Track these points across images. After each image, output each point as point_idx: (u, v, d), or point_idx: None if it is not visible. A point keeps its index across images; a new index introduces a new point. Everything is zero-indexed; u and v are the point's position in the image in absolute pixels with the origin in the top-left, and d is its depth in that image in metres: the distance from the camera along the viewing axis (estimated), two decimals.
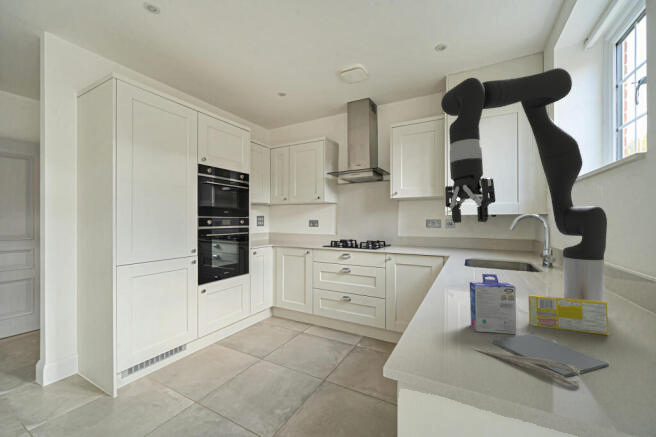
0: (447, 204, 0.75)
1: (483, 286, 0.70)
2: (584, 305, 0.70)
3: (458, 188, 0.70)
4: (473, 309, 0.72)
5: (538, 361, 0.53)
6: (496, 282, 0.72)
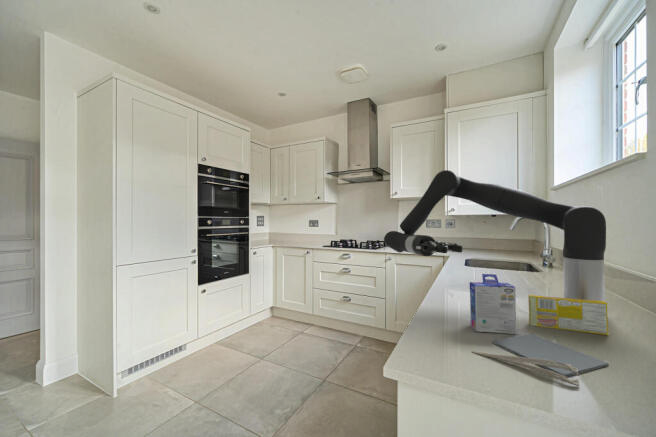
0: None
1: (483, 286, 0.70)
2: (584, 305, 0.70)
3: None
4: (473, 309, 0.72)
5: (536, 361, 0.53)
6: (496, 282, 0.72)
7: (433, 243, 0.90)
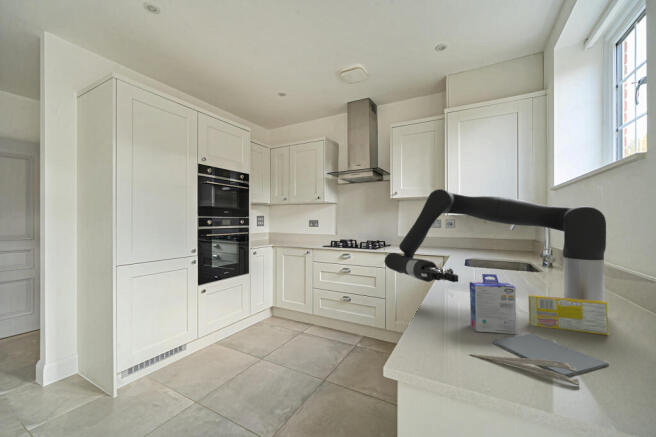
0: None
1: (483, 286, 0.70)
2: (584, 305, 0.70)
3: None
4: (473, 309, 0.72)
5: (534, 361, 0.53)
6: (496, 282, 0.72)
7: (439, 270, 0.89)
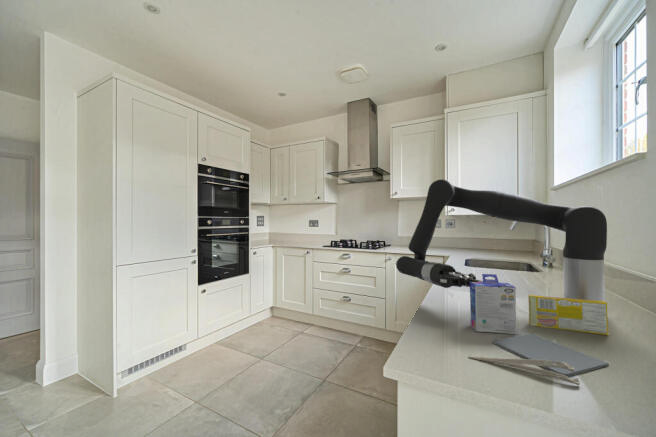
0: None
1: (483, 286, 0.70)
2: (584, 305, 0.70)
3: None
4: (473, 309, 0.72)
5: (533, 362, 0.52)
6: (496, 282, 0.72)
7: (460, 276, 0.81)
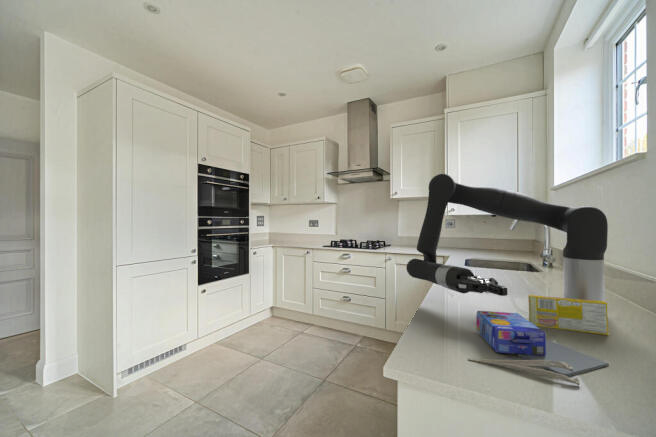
0: None
1: (505, 352, 0.58)
2: (584, 305, 0.70)
3: None
4: (483, 332, 0.65)
5: (533, 362, 0.52)
6: (528, 342, 0.57)
7: (481, 280, 0.74)
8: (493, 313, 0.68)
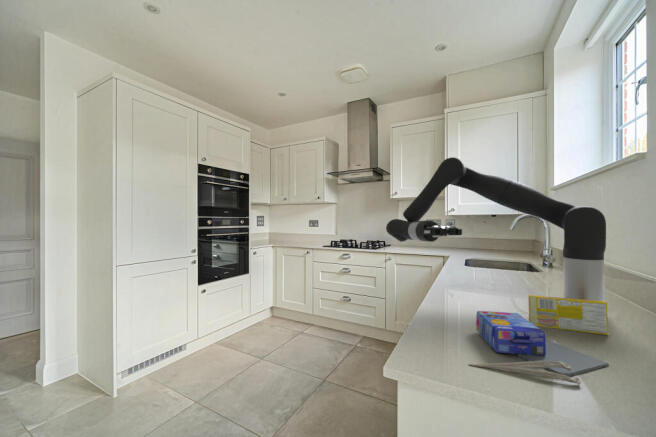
0: None
1: (505, 352, 0.58)
2: (584, 305, 0.70)
3: None
4: (483, 332, 0.65)
5: (532, 364, 0.52)
6: (528, 342, 0.57)
7: (442, 226, 0.88)
8: (493, 313, 0.68)
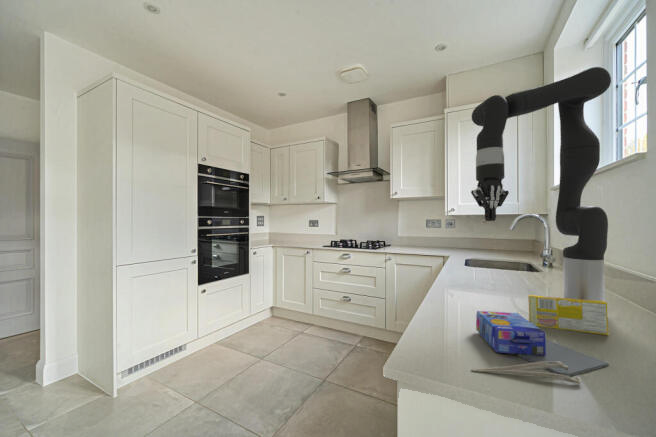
0: None
1: (505, 352, 0.58)
2: (584, 305, 0.70)
3: None
4: (483, 332, 0.65)
5: (532, 365, 0.51)
6: (528, 342, 0.57)
7: (492, 200, 0.81)
8: (493, 313, 0.68)
